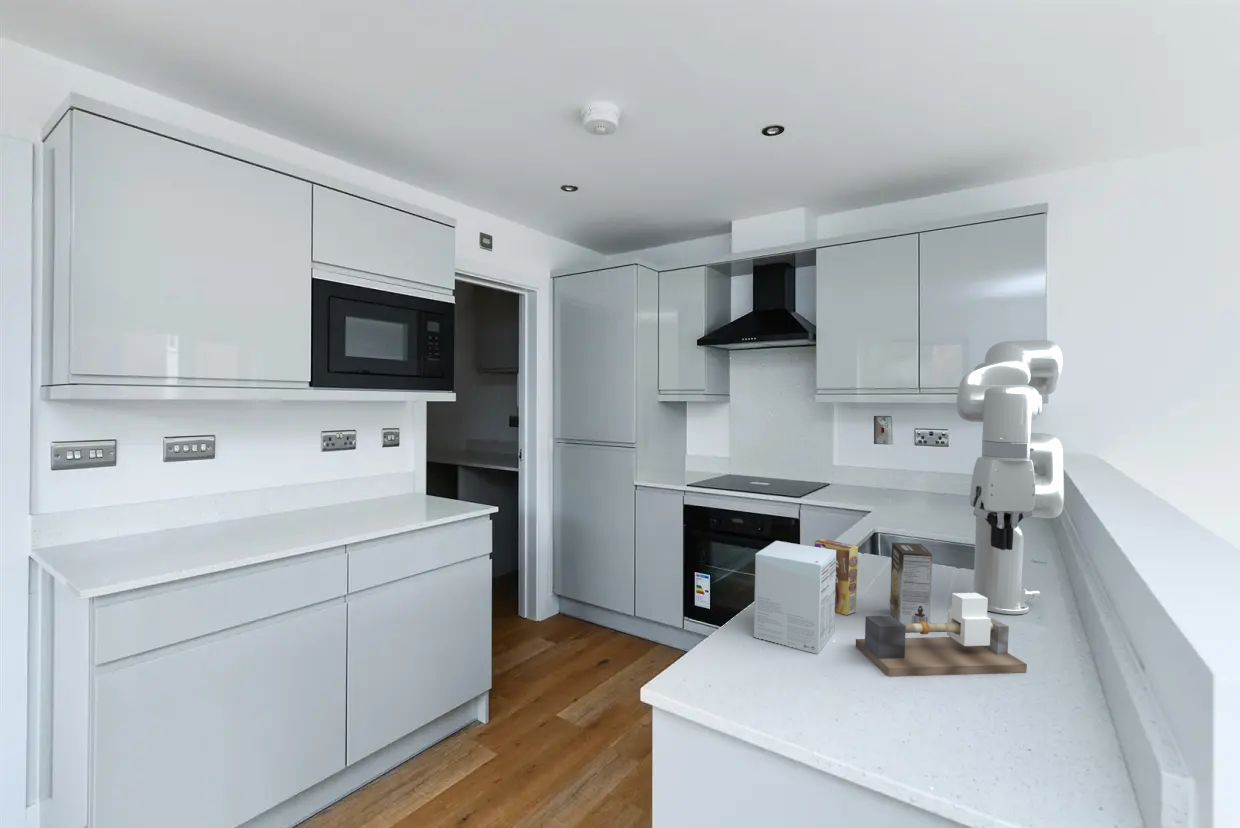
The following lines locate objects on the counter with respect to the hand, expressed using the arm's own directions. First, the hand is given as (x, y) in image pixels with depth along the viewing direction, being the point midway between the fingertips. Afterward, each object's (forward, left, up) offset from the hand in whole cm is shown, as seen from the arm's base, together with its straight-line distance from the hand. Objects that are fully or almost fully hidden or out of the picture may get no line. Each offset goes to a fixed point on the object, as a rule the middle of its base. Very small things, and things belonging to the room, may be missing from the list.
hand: (1001, 547), depth 110 cm
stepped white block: (+6, 0, -18) cm, 19 cm away
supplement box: (+35, -12, -21) cm, 43 cm away
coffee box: (+6, -19, -21) cm, 29 cm away
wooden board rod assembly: (+12, 0, -21) cm, 24 cm away
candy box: (+20, -26, -21) cm, 39 cm away
